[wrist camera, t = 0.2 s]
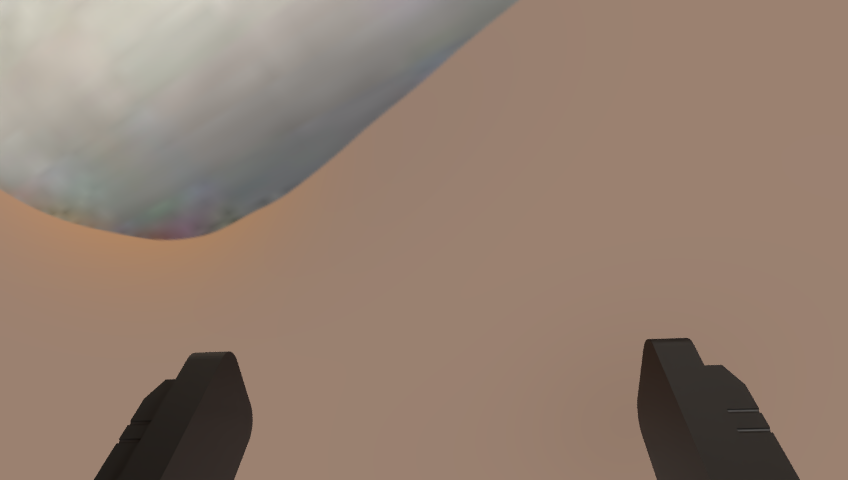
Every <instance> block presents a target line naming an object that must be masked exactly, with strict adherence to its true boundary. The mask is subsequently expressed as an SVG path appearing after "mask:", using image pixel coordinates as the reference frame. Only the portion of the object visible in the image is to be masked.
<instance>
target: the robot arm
mask: <svg viewBox="0 0 848 480" xmlns="http://www.w3.org/2000/svg"><path fill="white" fill-rule="evenodd" d="M637 408H638V419H639V424H640V429H641V433H642V436H643V439H644V442H645V445H646V448H647V451H648V454H649V457H650V460H651V463H652V466H653V469H654V472H655V475H656V478H657V480H800V479H799V477H798V476H797V474H796V472H795V470H794V469H793V467H792V465H791V464H790V462H789V460H788V458H787V456H786V455H785V453H784V451H783V450H782V448H781V446H780V445H779V442H778V441H777V439H776V437H775V436H774V434H773V433H771V432H770V427H769V425H768V423H767V422H766V420H765V418H764V417H763V415H762V413H759V408H758V406H757V404H756V403H755V401H754V399H753V398H752V396H751V394H750V392H749V390H748V389H747V387H746V385H745V384H744V383H743V382H741V381H740V380H739V379H738V378H737V377H735V376H734V375H733V374H732V373H731V372H730V371H728V370H727V369H726V368H725V367H724V366H722V365H707V366H704V364H703V362H702V360H701V358H700V356H699V354H698V352H697V350H696V348H695V346H694V344H693V343H692V341H691V340H690V339H688V338H675V339H673V338H672V339H647V340H646V342H645V344H644V349H643V357H642V366H641V375H640V382H639V391H638V400H637ZM251 430H252V408H251V404H250V401H249V398H248V395H247V392H246V388H245V385H244V382H243V379H242V376H241V372H240V369H239V366H238V362H237V359H236V357H235V355H234V354H233V353H232V352H205V353H193V354H191V355H190V356H189V358H188V359H187V361H186V362H185V364H184V366H183V368H182V369H181V371H180V373H179V374H178V376H177V378H176V379H173V380H165V381H164V382H163V383H162V384H160V385H159V386H158V387H157V388H156V389H155V390H154V391H153V392H151V393H150V394H149V395H148V396H147V397H146V398H145V399H144V400H143V401H142V403H141V405H140V406H139V408H138V409H137V411H136V413H135V414H134V416H133V418H132V419H131V424H130V425H128V426H127V427H126V429H125V430H124V432H123V434H122V435H121V437H120V439H119V440H120V441H119V443H117V444H116V445H115V447H114V448H113V450H112V451H111V453H110V455H109V456H108V458H107V459H106V461H105V463H104V464H103V466H102V467H101V469H100V471H99V472H98V474H97V476H96V477H95V479H94V480H234V478H235V475H236V473H237V470H238V468H239V465H240V462H241V460H242V457H243V455H244V452H245V449H246V447H247V444H248V442H249V439H250V435H251Z"/></svg>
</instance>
